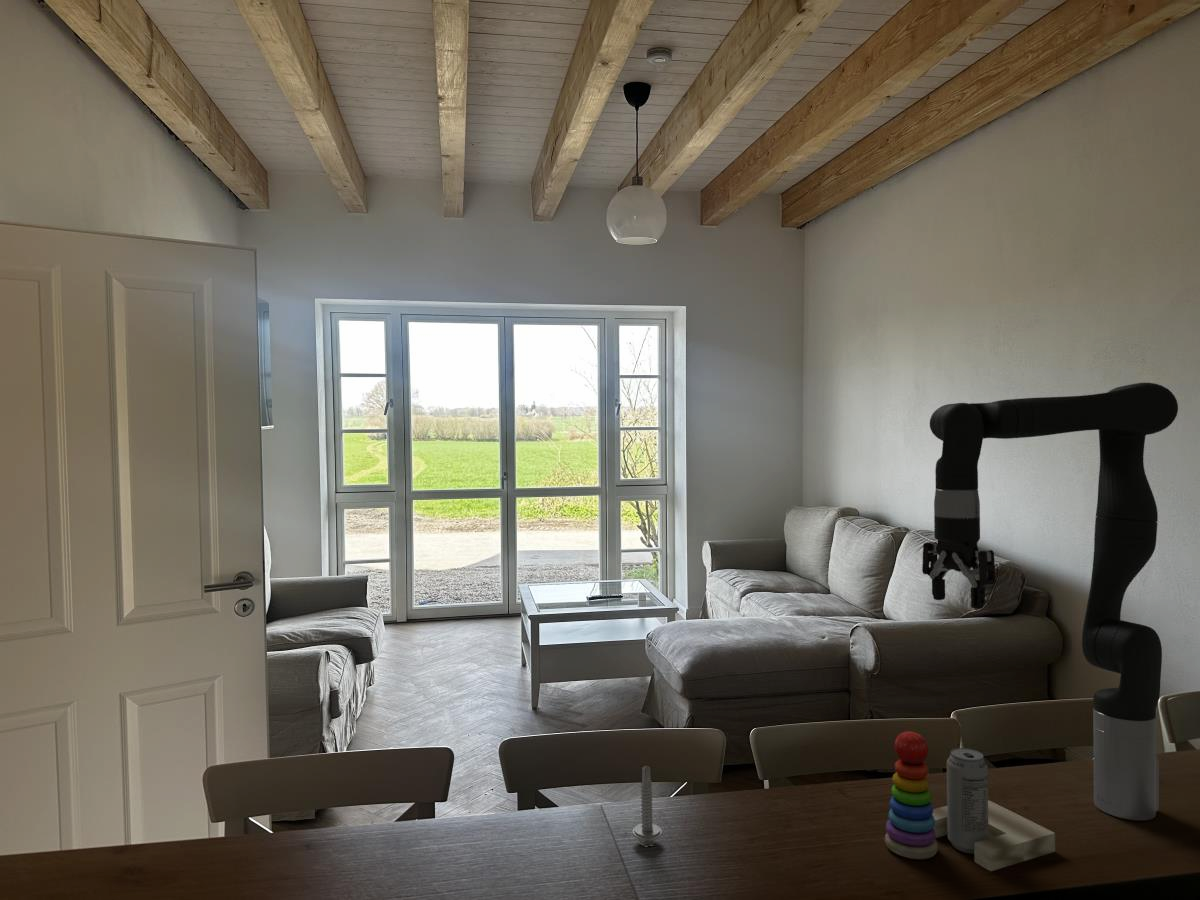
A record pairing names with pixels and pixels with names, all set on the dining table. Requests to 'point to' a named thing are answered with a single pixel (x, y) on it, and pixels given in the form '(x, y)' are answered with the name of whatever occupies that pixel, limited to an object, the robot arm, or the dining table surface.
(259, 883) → the dining table surface
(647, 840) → the screw
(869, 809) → the dining table surface
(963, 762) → the energy drink can
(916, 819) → the stacking toy
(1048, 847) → the notched board
